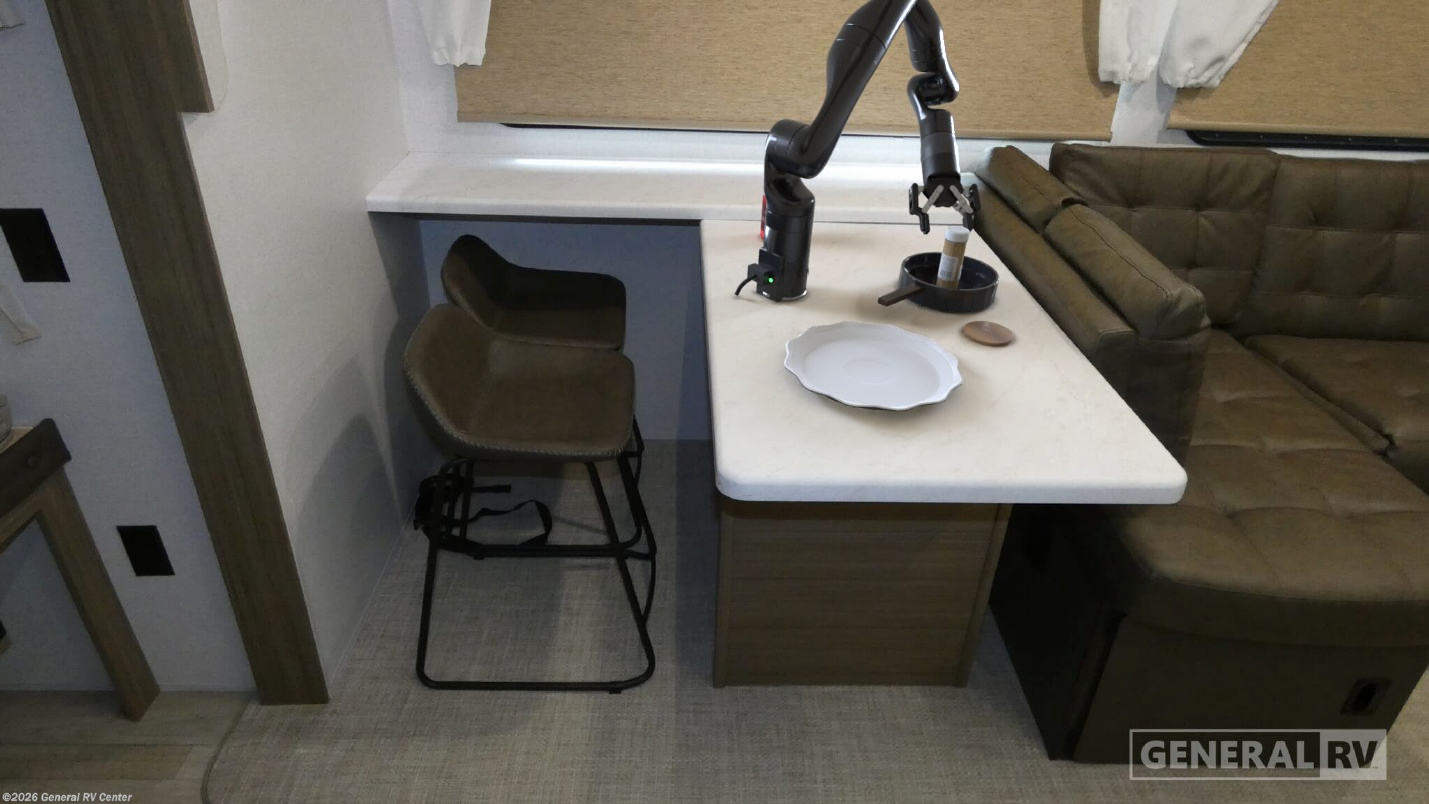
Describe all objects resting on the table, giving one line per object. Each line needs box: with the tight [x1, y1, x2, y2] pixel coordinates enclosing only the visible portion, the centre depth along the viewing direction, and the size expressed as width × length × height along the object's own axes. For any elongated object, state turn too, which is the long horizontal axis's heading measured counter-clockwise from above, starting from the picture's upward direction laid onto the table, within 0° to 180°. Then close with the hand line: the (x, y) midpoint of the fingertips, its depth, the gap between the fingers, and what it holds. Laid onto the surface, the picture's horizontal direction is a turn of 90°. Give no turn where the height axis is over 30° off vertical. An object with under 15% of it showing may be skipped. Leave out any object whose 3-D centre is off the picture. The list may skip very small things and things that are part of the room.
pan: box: [897, 251, 1000, 314], centre depth 169 cm, size 19×19×5 cm
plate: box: [783, 320, 964, 412], centre depth 140 cm, size 29×29×2 cm
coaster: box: [962, 320, 1014, 347], centre depth 155 cm, size 9×9×1 cm
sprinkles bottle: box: [936, 225, 971, 289], centre depth 167 cm, size 5×5×13 cm
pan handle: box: [876, 283, 923, 308], centre depth 159 cm, size 11×2×1 cm, turn 131°
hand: (947, 233), depth 169 cm, fingers open, 8 cm apart
